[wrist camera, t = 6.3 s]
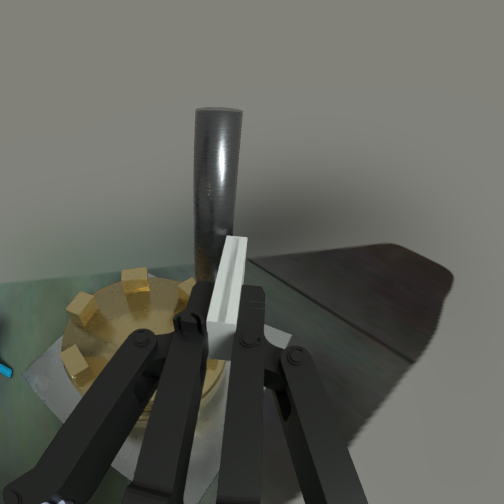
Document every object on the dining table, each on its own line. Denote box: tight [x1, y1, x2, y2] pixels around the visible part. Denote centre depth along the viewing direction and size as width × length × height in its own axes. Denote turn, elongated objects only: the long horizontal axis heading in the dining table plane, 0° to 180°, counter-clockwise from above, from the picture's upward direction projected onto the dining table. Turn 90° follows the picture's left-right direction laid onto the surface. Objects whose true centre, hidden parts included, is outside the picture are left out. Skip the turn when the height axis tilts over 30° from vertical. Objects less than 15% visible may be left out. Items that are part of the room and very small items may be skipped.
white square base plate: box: [22, 273, 292, 504], centre depth 23 cm, size 20×20×3 cm
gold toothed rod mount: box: [59, 107, 243, 428], centre depth 17 cm, size 14×14×18 cm
